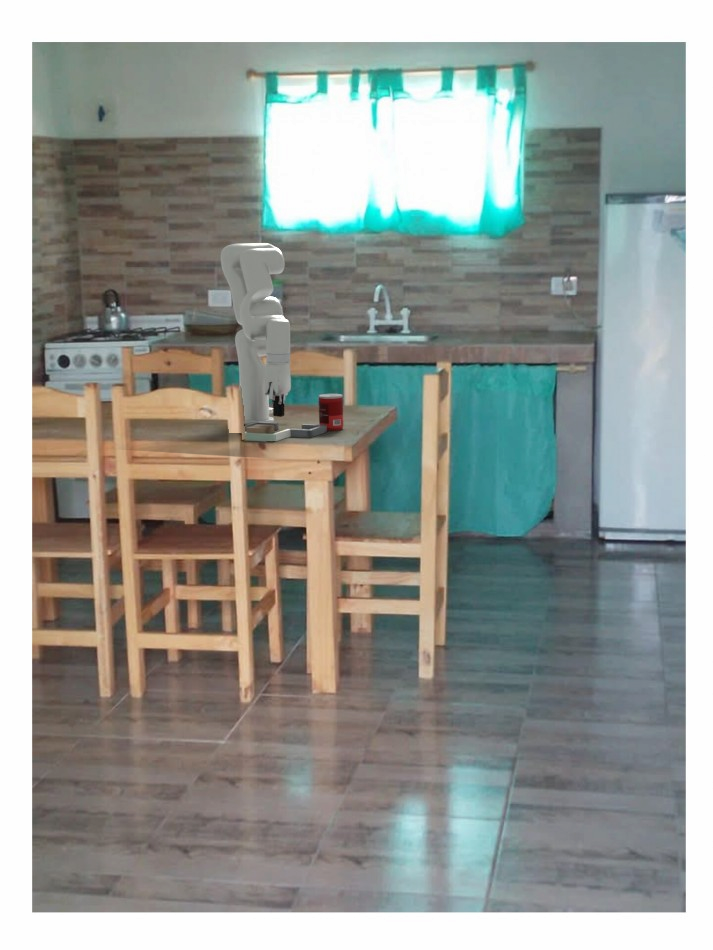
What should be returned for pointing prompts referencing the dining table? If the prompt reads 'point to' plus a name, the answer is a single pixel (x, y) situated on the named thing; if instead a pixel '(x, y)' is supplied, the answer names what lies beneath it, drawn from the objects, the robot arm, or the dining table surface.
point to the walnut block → (260, 429)
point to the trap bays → (306, 430)
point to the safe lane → (268, 436)
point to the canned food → (331, 411)
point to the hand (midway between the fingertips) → (278, 415)
